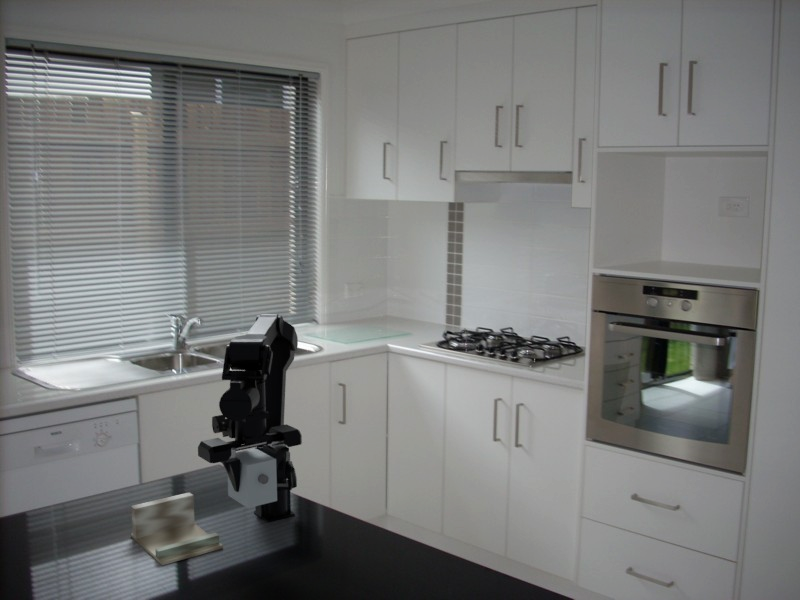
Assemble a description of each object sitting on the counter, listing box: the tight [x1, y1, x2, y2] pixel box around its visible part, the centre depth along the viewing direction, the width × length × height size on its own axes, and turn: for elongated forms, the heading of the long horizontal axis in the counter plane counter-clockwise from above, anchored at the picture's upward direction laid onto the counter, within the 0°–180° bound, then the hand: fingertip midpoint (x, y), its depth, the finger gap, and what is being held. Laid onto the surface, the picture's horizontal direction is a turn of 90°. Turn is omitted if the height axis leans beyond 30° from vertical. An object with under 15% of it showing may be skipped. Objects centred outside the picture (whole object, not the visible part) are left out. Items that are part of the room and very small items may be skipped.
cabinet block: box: [226, 447, 277, 509], centre depth 159 cm, size 6×9×8 cm, turn 37°
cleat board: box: [130, 491, 224, 566], centre depth 165 cm, size 12×16×7 cm
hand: (252, 487), depth 159 cm, fingers closed on cabinet block, 6 cm apart
